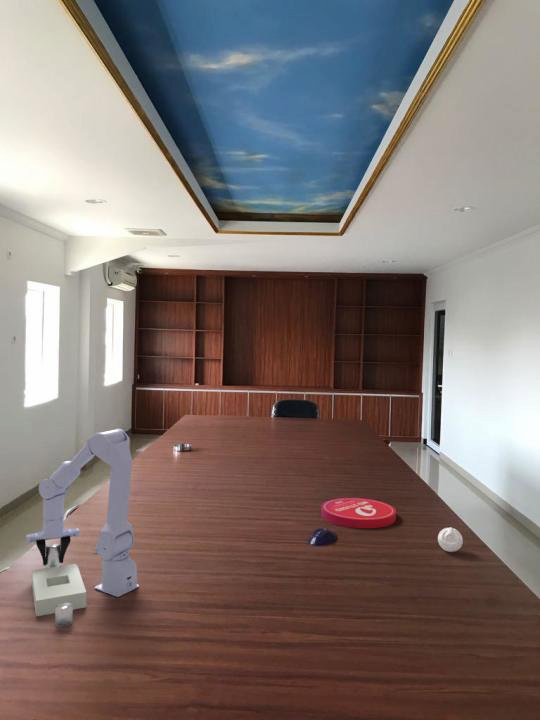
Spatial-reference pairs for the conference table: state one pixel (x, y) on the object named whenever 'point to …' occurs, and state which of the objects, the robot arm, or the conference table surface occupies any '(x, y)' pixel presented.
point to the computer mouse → (322, 537)
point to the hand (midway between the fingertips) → (53, 563)
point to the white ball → (450, 539)
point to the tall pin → (52, 555)
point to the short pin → (63, 615)
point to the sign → (358, 513)
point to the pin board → (57, 588)
